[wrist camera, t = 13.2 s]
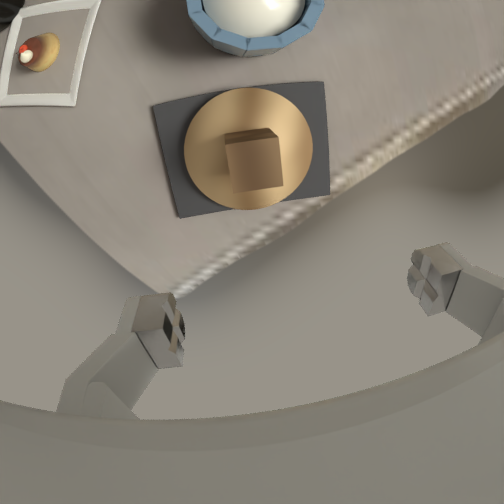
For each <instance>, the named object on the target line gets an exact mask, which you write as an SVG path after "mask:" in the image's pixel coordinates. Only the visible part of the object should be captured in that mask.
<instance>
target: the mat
mask: <svg viewBox="0 0 504 504" xmlns="http://www.w3.org/2000/svg"><path fill="white" fill-rule="evenodd" d="M247 88H260V89H265V90H269V91H272V92H274V93H277V94H279V95H281V96H283V97H284V98H286V99H287V100H289V101H290V102H291V103H292V104H293V105H295V106H296V107H297V108H298V110H299V111H300V112H301V113H302V115H303V116H304V118H305V120H306V122H307V124H308V126H309V129H310V132H311V136H312V143H313V152H312V159H311V163H310V167H309V169H308V171H307V174H306V176H305V177H304V179H303V181H302V182H301V183H300V185H299V186H298V187H297V188H296V189H295V190H294V191H293V192H292V193H291V194H290V195H289V196H287V197H286V198H284V199H283V200H281V201H280V202H282V201H289V200H296V199H303V198H310V197H318V196H325V195H330V171H329V146H328V129H327V114H326V101H325V90H324V82H302V83H286V84H274V85H264V86H255V87H247ZM227 91H230V90H226V91H220V92H214V93H209V94H203V95H198V96H193V97H188V98H184V99H179V100H175V101H171V102H166V103H162V104H158V105H155V106H153V109H154V113H155V118H156V123H157V128H158V132H159V137H160V141H161V146H162V150H163V154H164V159H165V163H166V167H167V171H168V175H169V179H170V183H171V187H172V191H173V195H174V199H175V203H176V206H177V210H178V214H179V217H180V219H181V218H186V217H191V216H197V215H202V214H208V213H214V212H219V211H225V210H231V209H234V208H230V207H226V206H223V205H221V204H219V203H217V202H215V201H213V200H211V199H210V198H209V197H207V196H206V195H205V194H204V193H203V192H201V191H200V190H199V188H198V187H197V186H196V185H195V183H194V182H193V180H192V178H191V177H190V174H189V172H188V170H187V167H186V163H185V157H184V143H185V137H186V134H187V130H188V128H189V126H190V123H191V121H192V120H193V118H194V117H195V115H196V114H197V113H198V111H199V110H200V109H201V108H202V107H203V106H204V105H205V104H206V103H207V102H208V101H210V100H211V99H213V98H214V97H216V96H218V95H220V94H222V93H224V92H227Z"/></svg>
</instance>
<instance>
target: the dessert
mask: <svg viewBox="0 0 504 504" xmlns="http://www.w3.org/2000/svg"><path fill="white" fill-rule="evenodd" d="M100 3H101V0H58V1H52V2H47V3H42V4H37V5H32V6H28V7H23V8H21V9H20V11H19V13H18V15H17V16H16V17H15V18H14V19H13V21H12V23H11V27H10V30H9V34H8V38H7V42H6V47H5V51H4V56H3V61H2V67H1V72H0V107H2V106H75V105H76V99H77V93H78V87H79V82H80V77H81V72H82V67H83V62H84V58H85V54H86V50H87V46H88V42H89V38H90V34H91V31H92V27H93V24H94V21H95V18H96V14H97V11H98V8H99V5H100ZM85 8H89V9H90V11H89V14H88V17H87V20H86V23H85V27H84V30H83V34H82V37H81V41H80V45H79V49H78V53H77V58H76V62H75V67H74V72H73V77H72V82H71V88H70V93H69V94H16V95H7V90H8V82H9V76H10V70H11V64H12V59H13V54H14V50H15V45H16V41H17V37H18V33H19V29H20V26H21V22H22V19H23V18H25V17H29V16H34V15H40V14H45V13H51V12H58V11H66V10H74V9H85ZM59 47H60V43H59V39H58V37H57V36H56V35H55V34H53V33H44V34H42V35H38V36H35V37H32V38H30V39H28V40H26V41H25V42H24V43H23V45H22V46H21V47H20V48H19V51H18V52H19V55H18V58H19V62H20V64H21V65H23V66H25V67H27V68H29V69H31V70H33V71H35V72H41V71H44V70H46V69H47V68H49V67H50V66H51V65H52V64H53V62H54V61H55V59H56V57H57V55H58V52H59ZM18 52H17V53H18ZM17 53H16V54H17Z"/></svg>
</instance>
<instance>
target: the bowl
mask: <svg viewBox="0 0 504 504" xmlns="http://www.w3.org/2000/svg"><path fill="white" fill-rule="evenodd" d="M186 1H187V7H188V14H189V17H190V19H191V21H192V23H193V25H194V27H195V29H196V30H197V31H198V32H199V33H200V34H201V35H202V36H203V38H204V39H205V40H206V41H207V42H208V43H209V44H211V45H212V46H213V47H214V48H217V49H219V50H221V51H223V52H226V53H228V54H232V55H236V56H241V57H254V56H262V55H267V54H273V53H275V52H277V51H278V50H280V49H282V48H283V47H285V46H287V45H288V44H290V43H292V42H293V41H295V40H297V39H299V38H300V37H302V36H304V35H305V34H307V33H309V32H311V31H312V30H313V28H314V26H315V24H316V22H317V20H318V18H319V16H320V14H321V12H322V10H323V8H324V0H186Z"/></svg>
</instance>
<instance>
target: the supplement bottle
mask: <svg viewBox="0 0 504 504" xmlns="http://www.w3.org/2000/svg"><path fill="white" fill-rule="evenodd" d="M24 2H25V0H0V31H1V30H3V29H5V28H6V27H7V26H9V25H10V24H11V23H12V21H13V19H14V18H15V17H16V16H17V15H18V13H19V11H20V9H21V8H22V7H23V5H24Z"/></svg>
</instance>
